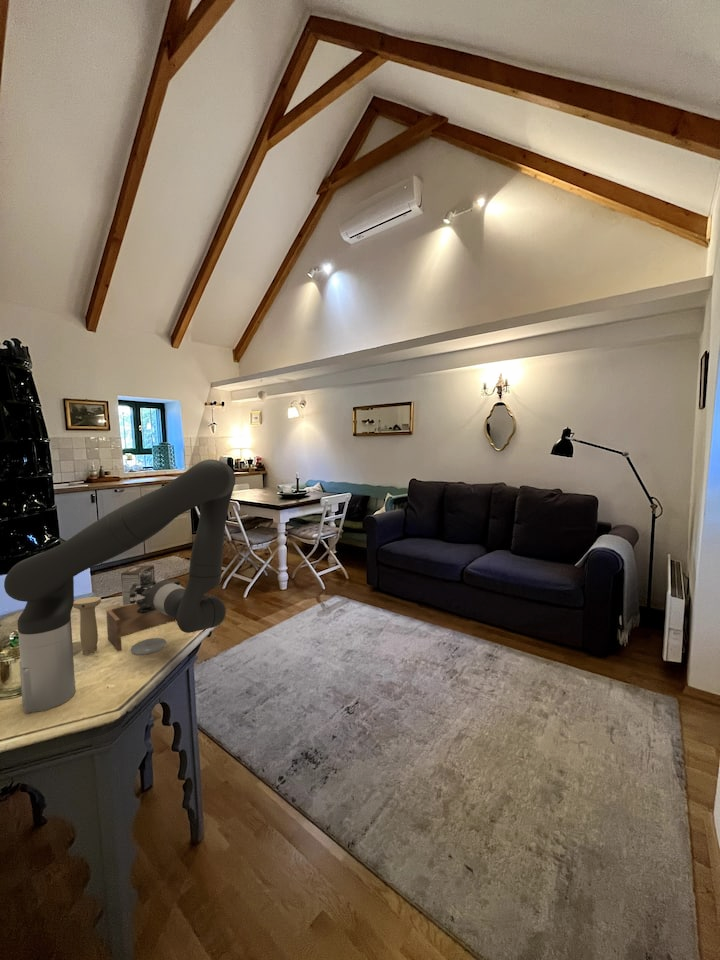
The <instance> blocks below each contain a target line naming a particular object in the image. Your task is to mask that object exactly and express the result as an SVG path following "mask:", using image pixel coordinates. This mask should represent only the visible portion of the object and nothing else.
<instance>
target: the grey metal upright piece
mask: <svg viewBox="0 0 720 960" xmlns="http://www.w3.org/2000/svg"><path fill="white" fill-rule="evenodd" d="M146 570H147V569H146V568H145V569H144V572H142V573H141V574H140V585H141V586H144V585H148V586H152V585H153V583H152V578H151V573H150V572H149V571H146ZM136 603H137V605H138V606H139V607H141V608H139V609H138V610H137V613H140V614H144V613H150V612H153V611H156V609H154V608H152V607H151V606H150V605H149V604H148V602H147V601H142V600H141V599H140V600H137V601H136Z"/></svg>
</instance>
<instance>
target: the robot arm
mask: <svg viewBox="0 0 720 960" xmlns="http://www.w3.org/2000/svg"><path fill="white" fill-rule="evenodd" d="M235 485H236V475H235V472H234V470H233V468H232V467H231V466H230V465H228V464H227V463H226V462H223V461H220V460H217V459H212V458H211V459H204V460H201V461H199V462H198V463H196V464H194V465H193V466H191V467H190V468H189V469H187V470H185V472H183V473H181V474H180V475H179V476H177V477H176V478H175V479H173V480H171V481H170V482H168V483H167V484H164V485H163V486H161V487H159V488H157V489H155V490H152V491H150V492H148V493H146V494H144V495H142V496H140V497H138V498H136V499H133V500H132V501H130V502H128V503H125V504H123V505H122V506H120V507H118V508H116V509H114V510H112V511H111V512H109V513H107V514H106V515H104V516H102V517H101V518H99V519H97V520H96V521H94V522H93V523H91V524H89V525H88V526H86V527H85V528H84V529H82V530H80V531H79V532H77V533H76V534H75V535H73V536H72V537H70V538H69V539H67V540H65V541H63V542H62V543H60V544H58V545H56V546H54V547H52V548H50V549H48V550H46V551H42V552H40V553H37V554H35V555H32V556H30V557H28V558H24V559H23V560H21V561H18V562H17V563H16V564H14V565H13V566H12V567H11V568H10V570H9V571H8V572H7V573H6V576H5V578H4V582H3V583H4V584H3V588H4V591H5V593H6V595H8V597H10V598H12V599H13V600H16V601H18V602H19V601H20V602H23V603H24V602H25V603H26V604H25V607H24V609H23V611H22V612H21V614H20V615H19V616H18V619H17V633H18V634H17V635H18V648H19V649H18V651H19V676H20V686H21V687H20V688H21V699H22V700H21V702H22V705H23V710H24V713H25V714H29V713H33V712H34V713H35V712H41V711H46V710H49V709H53V708H56V707H57V706H60V705H62V704H63V703H66V702H67V701H68V700H70V699H71V698H72V697H73V696H75V693H76V678H75V677H76V676H75V663H74V646H73V645H74V644H73V632H72V631H73V630H72V617H71V616H72V610H73V608H74V607H73V603H74V601H75V595H74V594H75V591H74V588H75V586H74V584H75V583H74V582H75V581H74V577H75V576H77V575H79V574H80V573H83V572H84V571H86V570H88V569H90V568H92V567H95V566H97V565H99V564H102V563H104V562H107V561H110V560H111V559H113V558H115V557H117V556H119V555H122V554H123V553H125V552H128V551H129V550H131V549H133V548H135V547H137V546H139V545H140V544H142V543H144V542H146V541H147V540H149V539H151V538H153V536H155V535H156V534H158V533H159V532H161V531H162V530H163V529H164V528H166V526H168V525H169V524H170V523H172V521H174V520H175V519H176V518H178V517H179V516H181V515H183V514H184V513H185V512H187V511H190V510H192V509H193V508H196V507H198V506H200V507H199V509H200V511H199V520H198V524H197V529H196V534H195V536H194V540H193V543H192V547H191V553H190V560H189V561H190V562H189V572H188V580H187V583H186V586H185V587H183V586H182V585H181V582H182V581H180V580H173V579H163V580H152V583H153V585H152V586H148V585H144V586H141V585H139V584H137V583H134V584H133V586H132V588H131V589H130V594H129V595H130V604H134V603H135V601H137V600H140V599H141V600H142V601H147V602H148V604H149V605H150V606H151V607H152V608H154V609H156V610H157V611H159V612H161V613H163V614H165V615H169V616H171V617H173V618H174V619H177V621H176V623H177V626H178V628H179V630H180V631H182V632H183V633H185V634H192V633H195V632H201V631H204V630H208V629H213V628H216V627H217V626H219V625H221V624H222V622H223V621H224V620H225V618H226V614H227V609H226V605H225V603H224V601H223V600H222V599H221V598H219V597H218V596H216V595H212V594H208V593H207V592H209V591H211V590H214V589H216V588H218V587H219V585H220V583H221V579H222V578H221V577H222V571H223V570H222V569H223V568H222V567H223V556H224V543H225V530H226V525H227V524H226V523H227V517H228V511H229V507H230V503H231V499H232V496H233V492H234V488H235Z"/></svg>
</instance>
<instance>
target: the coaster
mask: <svg viewBox="0 0 720 960" xmlns="http://www.w3.org/2000/svg"><path fill="white" fill-rule="evenodd" d="M166 645H167V640H166V639H165V638H162V637H153V638H148V639H143V640H141V641H138V642H136V643H135V644H133V645H132V646H131V648H130V653H131V654H133V655H136V656H144V655H151V654H154V653H157V652H159V651H160V650H163V649H164V648H165V647H166Z"/></svg>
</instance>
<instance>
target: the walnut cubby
mask: <svg viewBox="0 0 720 960" xmlns="http://www.w3.org/2000/svg"><path fill="white" fill-rule="evenodd" d="M139 608H141V607H139V606H138V605H137V603H136V602H135V603H134V604H128V605H124V606H123V605H121V606H117V607H112V608H109V609H106V610H105V611H106V629H107V631H106V632H107V640H108V641H109V643H110V644H111V645H112V646H113V647H114V649H115V650H116V651H117V652H121V651H123V650H122V637H125V636H128V635H130V634H134V632H135V633H137V632H140V631H144V629H145V630H148V629H151V628H154V627H157V625H158V626H161V625H163V624H167V622H168V623H171V622H174V621H175V620H176V621H175V622H177V619H174V618H173V617H171V616H169V615H165V614H163V613H161V612H159V611H157V610H156V611H153V612H150V613H144V614H140V613H137V610H138V609H139ZM170 621H171V622H170ZM160 624H161V625H160ZM153 626H154V627H153ZM150 627H151V628H150ZM147 628H148V629H147Z"/></svg>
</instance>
